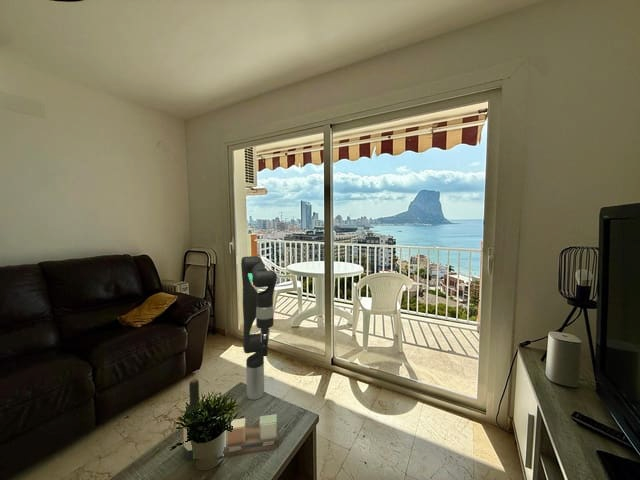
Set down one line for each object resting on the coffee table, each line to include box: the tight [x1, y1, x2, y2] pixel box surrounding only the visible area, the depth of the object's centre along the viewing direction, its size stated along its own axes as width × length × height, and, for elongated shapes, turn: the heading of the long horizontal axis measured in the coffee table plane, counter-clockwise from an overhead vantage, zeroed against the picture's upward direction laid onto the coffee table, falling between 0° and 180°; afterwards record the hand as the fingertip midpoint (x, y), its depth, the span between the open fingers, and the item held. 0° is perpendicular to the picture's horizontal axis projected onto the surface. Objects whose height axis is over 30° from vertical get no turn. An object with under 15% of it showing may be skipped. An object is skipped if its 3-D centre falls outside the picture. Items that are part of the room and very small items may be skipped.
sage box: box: [259, 413, 278, 441], centre depth 106 cm, size 5×7×8 cm
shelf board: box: [223, 423, 279, 458], centre depth 107 cm, size 12×24×4 cm, turn 101°
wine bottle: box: [182, 377, 200, 462], centre depth 101 cm, size 8×8×30 cm
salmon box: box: [226, 417, 247, 446], centre depth 104 cm, size 5×7×8 cm
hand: (265, 350), depth 112 cm, fingers open, 8 cm apart
